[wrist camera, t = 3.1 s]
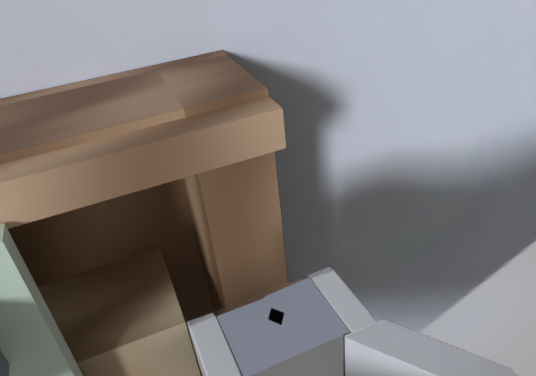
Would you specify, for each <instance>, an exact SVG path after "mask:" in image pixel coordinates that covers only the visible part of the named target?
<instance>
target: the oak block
mask: <svg viewBox="0 0 536 376" xmlns="http://www.w3.org/2000/svg"><path fill="white" fill-rule="evenodd" d="M38 289H39V291H40V293H41V295H42V297H43V299H44V301H45V303H46V305H47V307H48V309H49V311H50V313H51V314H52V316H53V318H54V320H55V322H56V324H57V326H58V328H59V330H60V332H61V334H62V336H63V338H64V340H65V342H66V344H67V346H68V347H69V349H70V351H71V353H72V355H73V357H74V359H75V361H76V363H77V365H78V367H79V369H80V371H81V373H82V375H83V376H201V375H200V371H199V368H198V364H197V361H196V358H195V354H194V351H193V347H192V344H191V340H190V337H189V333H188V330H187V326H186V323H185V320H184V317H183V314H182V311H181V308H180V305H179V302H178V299H177V296H176V294H175V291H174V288H173V285H172V282H171V279H170V276H169V273H168V270H167V267H166V264H165V261H164V258H163V255H162V252H161V249H160V247H159V248H156V249H153V250H150V251H147V252H144V253H141V254H138V255H135V256H131V257H128V258H125V259H122V260H119V261H116V262H113V263H110V264H107V265H104V266H101V267H98V268H95V269H92V270H88V271H85V272H82V273H79V274H76V275H73V276H70V277H67V278H64V279H61V280H58V281H55V282H52V283H49V284H46V285H42V286H39V287H38Z"/></svg>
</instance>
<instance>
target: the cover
mask: <svg viewBox="0 0 536 376" xmlns="http://www.w3.org/2000/svg"><path fill="white" fill-rule="evenodd" d="M0 376H83V375H82V373H81V371H80V369H79V367H78V365H77V363H76V361H75V359H74V357H73V355H72V353H71V351H70V349H69V347H68V346H67V344H66V342H65V340H64V338H63V336H62V334H61V332H60V330H59V328H58V326H57V324H56V322H55V320H54V318H53V316H52V314H51V313H50V311H49V309H48V307H47V305H46V303H45V301H44V299H43V297H42V295H41V293H40V291H39V289H38V287H37V285H36V283H35V282H34V280H33V278H32V276H31V274H30V272H29V270H28V268H27V266H26V264H25V262H24V260H23V258H22V256H21V254H20V252H19V251H18V249H17V247H16V245H15V243H14V241H13V239H12V237H11V235H10V233H9V231H8V229H7V227H6V225H5V223H4V224H0Z"/></svg>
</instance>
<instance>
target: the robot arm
mask: <svg viewBox="0 0 536 376" xmlns="http://www.w3.org/2000/svg"><path fill="white" fill-rule="evenodd" d="M187 324H188V328H189V332H190V335H191V339H192V342H193V346H194V349H195V353H196V356H197V359H198V363H199V366H200V369H201V372H202V376H518V375H517V374H516V373H515V372H514V371H513V370H512V369H511V368H509V367H506V366H504V365H502V364H499V363H496V362H494V361H491V360H489V359H486V358H484V357H481V356H479V355H476V354H473V353H471V352H468V351H466V350H463V349H460V348H458V347H455V346H453V345H450V344H448V343H445V342H442V341H440V340H437V339H435V338H432V337H430V336H427V335H424V334H422V333H419V332H417V331H414V330H412V329H409V328H406V327H404V326H401V325H399V324H396V323H393V322H391V321H388V320H386V319H382V320H379V321H376V320H375V318H374V317H373V316H372V315H371V314H370V313H369V311H368V310H367V309H366V308H365V307H364V305H363V304H362V303H361V302H360V301H359V299H358V298H357V297H356V296H355V295H354V293H353V292H352V291H351V290H350V289H349V287H348V286H347V285H346V284H345V283H344V281H343V280H342V279H341V278H340V277H339V276H338V274H337V273H336V272H335V271H334V270H333V269H332V268H330V267H327V268H324V269H322V270H319V271H317V272H314V273H312V274H309V275H307V276H306V277H301V278H299V279H296V280H294V281H291V282H289V283H286V284H284V285H281V286H279V287H277V288H274V289H272V290H269V291H267V292H264V293H262V294H260V295H258V296H255V297H252V298H250V299H247V300H244V301H241V302H239V303H236V304H233V305H230V306H228V307H225V308H222V309H219V310H216V311H214V312H213V313H210V314H207V315H204V316H201V317H199V318H196V319H193V320H190V321H188V322H187Z"/></svg>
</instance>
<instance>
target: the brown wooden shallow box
mask: <svg viewBox="0 0 536 376" xmlns="http://www.w3.org/2000/svg"><path fill="white" fill-rule="evenodd" d="M285 148H286V139H285V128H284V117H283V108H282V107H281V106H280V105H278V104H277V103H276V102H275V101H274V100H273V99H271V98H270V97H269V93H268V88H267V87H266V86H265V85H264V84H262V83H261V82H260V81H259V80H258V79H256V78H255V77H254V76H253V75H252V74H250V73H249V72H248V71H247V70H246V69H244V68H243V67H242V66H241V65H239V64H238V63H237V62H236V61H235V60H233V59H232V58H231V57H230V56H229V55H227V54H226V53H225V52H224V51H223V50H220V51H216V52H211V53H207V54H202V55H198V56H193V57H189V58H184V59H180V60H175V61H170V62H166V63H161V64H157V65H152V66H148V67H143V68H139V69H134V70H130V71H125V72H120V73H116V74H111V75H107V76H102V77H98V78H93V79H89V80H84V81H80V82H75V83H70V84H66V85H61V86H57V87H52V88H48V89H43V90H39V91H34V92H30V93H25V94H20V95H16V96H11V97H7V98H2V99H0V224H4V223H5V225H6V227H7V229H8V231H9V233H10V235H11V237H12V239H13V241H14V243H15V245H16V247H17V249H18V251H19V252H20V254H21V256H22V258H23V260H24V262H25V264H26V266H27V268H28V270H29V272H30V274H31V276H32V278H33V280H34V282H35V283H36V285H37V287H39V286H42V285H46V284H49V283H52V282H55V281H58V280H61V279H64V278H67V277H70V276H73V275H76V274H79V273H82V272H85V271H88V270H92V269H95V268H98V267H101V266H104V265H107V264H110V263H113V262H116V261H119V260H122V259H125V258H128V257H131V256H135V255H138V254H141V253H144V252H147V251H150V250H153V249H156V248H159V247H160V249H161V252H162V255H163V258H164V261H165V264H166V267H167V270H168V273H169V276H170V279H171V282H172V285H173V288H174V291H175V294H176V296H177V299H178V302H179V305H180V308H181V311H182V314H183V317H184V320H185V323H186V326H187V330H188V333H189V337H190V340H191V344H192V347H193V351H194V354H195V358H196V361H197V364H198V368H199V371H200V375H201V376H202V372H201V369H200V366H199V363H198V359H197V356H196V353H195V349H194V346H193V342H192V339H191V335H190V332H189V328H188V324H187V322H188V321H190V320H193V319H196V318H199V317H201V316H204V315H207V314H210V313H213V312H214V311H216V310H219V309H222V308H225V307H228V306H230V305H233V304H236V303H239V302H241V301H244V300H247V299H250V298H252V297H255V296H258V295H260V294H262V293H264V292H267V291H269V290H272V289H274V288H277V287H279V286H281V285H284V284H286V283H288V276H287V267H286V257H285V247H284V238H283V228H282V218H281V209H280V199H279V189H278V180H277V170H276V160H275V151H278V150H282V149H285Z"/></svg>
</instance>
